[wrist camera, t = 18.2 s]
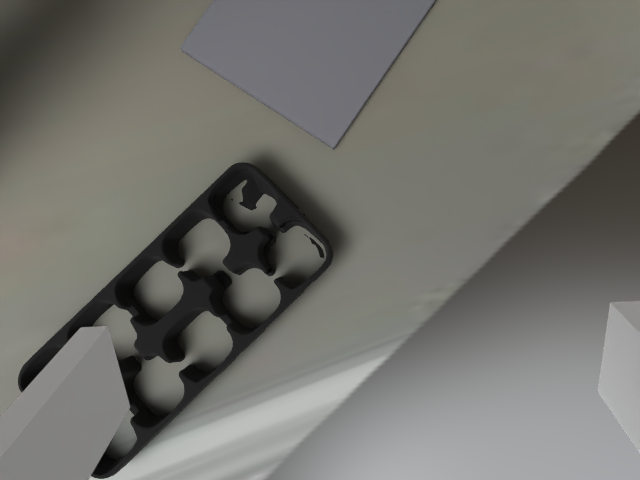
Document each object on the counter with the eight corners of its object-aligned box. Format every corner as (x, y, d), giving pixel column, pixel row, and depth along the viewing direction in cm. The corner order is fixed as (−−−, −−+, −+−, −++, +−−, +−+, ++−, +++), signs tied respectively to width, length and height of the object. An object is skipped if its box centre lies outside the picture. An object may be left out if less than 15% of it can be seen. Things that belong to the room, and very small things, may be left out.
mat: (181, 51, 50) (179, 48, 50) (285, -96, 51) (284, -100, 51) (333, 149, 48) (333, 147, 48) (439, -5, 49) (440, -9, 49)
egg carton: (21, 395, 48) (-7, 404, 45) (201, 134, 50) (189, 122, 46) (169, 508, 47) (153, 527, 43) (353, 234, 48) (353, 229, 44)
